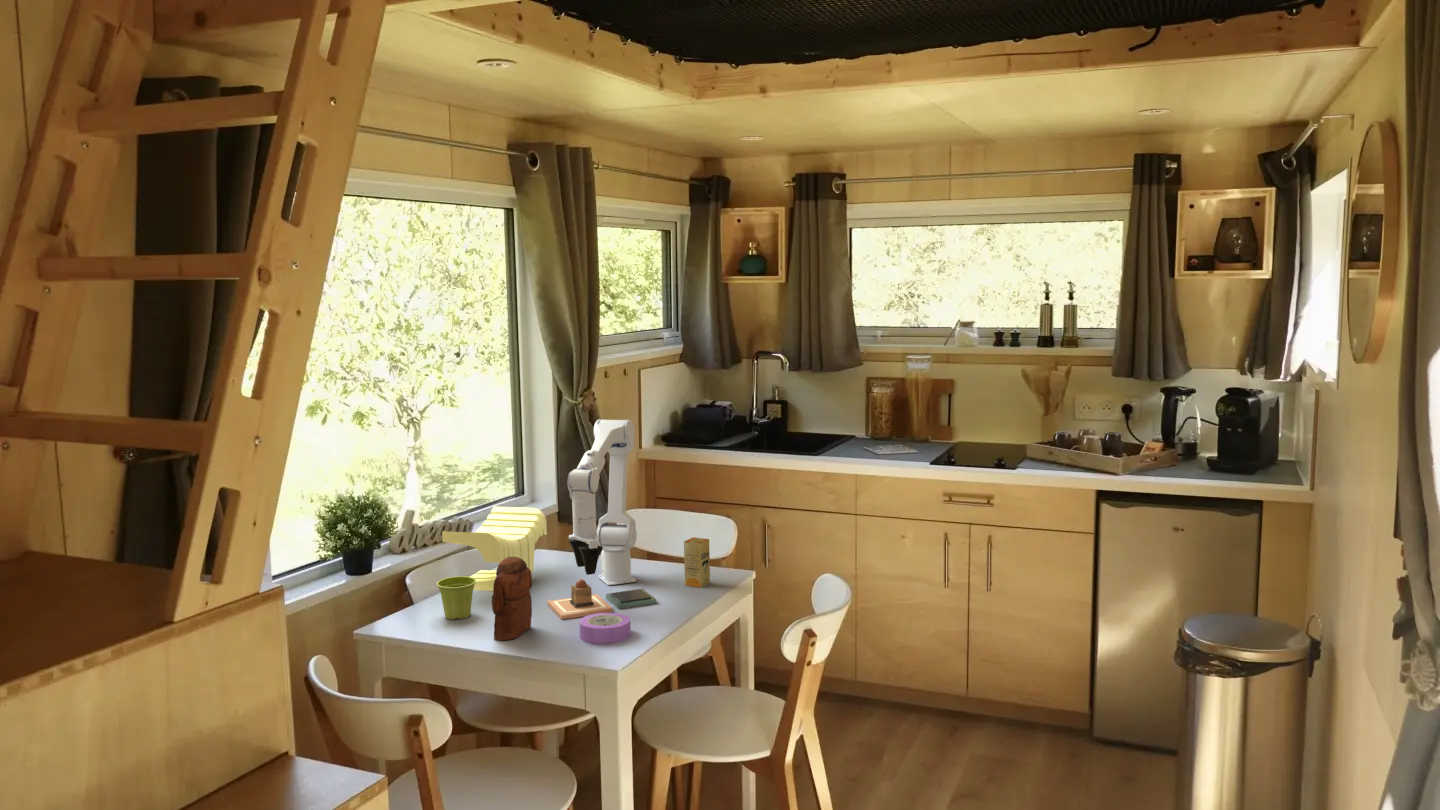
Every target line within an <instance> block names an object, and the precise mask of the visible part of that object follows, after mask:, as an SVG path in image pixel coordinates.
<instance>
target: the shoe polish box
mask: <svg viewBox="0 0 1440 810" xmlns="http://www.w3.org/2000/svg"><path fill="white" fill-rule="evenodd" d="M683 556H684V557H683V559H684V560H683V561H684V565H683V566H684V586H685V587H686V586H687V587H695V588H699V589H700V588H703V587H706V586H707V585H708V584H710V583H711V565H710V564H711V563H710V562H711V561H710V539H709V538H702V537H691V538H688V539H686V540H685V541H683Z"/></svg>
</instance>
